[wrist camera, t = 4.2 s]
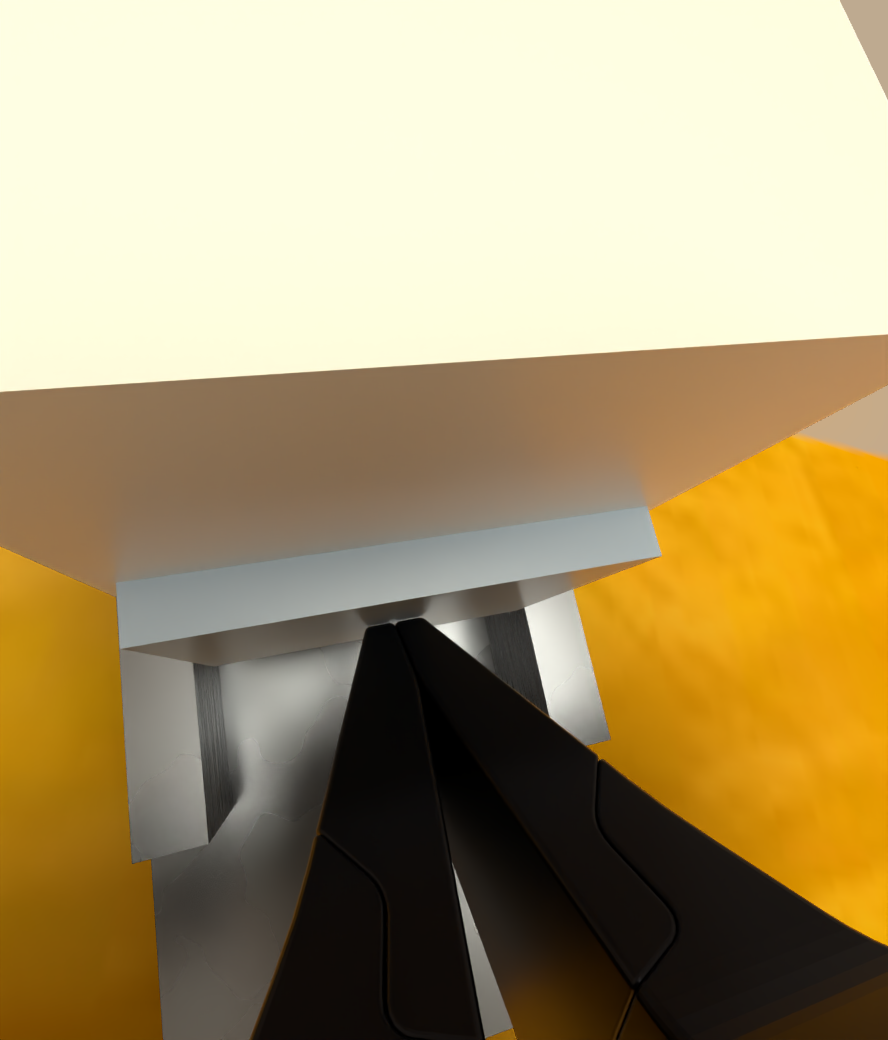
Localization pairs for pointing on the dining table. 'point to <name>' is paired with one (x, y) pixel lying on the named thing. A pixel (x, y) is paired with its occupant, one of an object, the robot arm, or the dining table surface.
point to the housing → (285, 797)
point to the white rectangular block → (413, 293)
